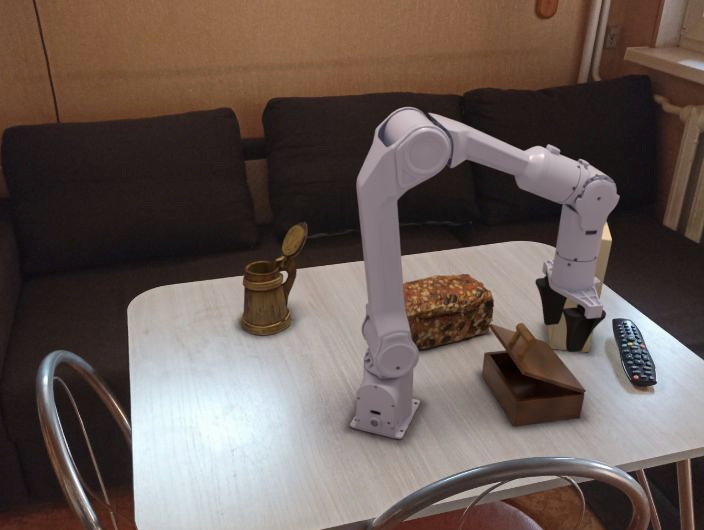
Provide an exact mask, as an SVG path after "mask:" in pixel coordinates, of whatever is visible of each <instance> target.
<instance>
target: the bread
mask: <svg viewBox="0 0 704 530" xmlns="http://www.w3.org/2000/svg"><path fill="white" fill-rule="evenodd" d="M403 290H404V304H405V311H406V315H407V319H408V323H409V327H410V333H411V339H412V341H413V342H414V344H415V345H416V347H417V349H418V350H424V349H425V350H427V349H429V348H434V347H437V346H438V347H439V346H442V345H447V344H451V343H455V342H459V341H460V342H461V341H462V340H464V339H468V338H470V337H475V336H476V335H484V334H485V333H487V332H488V331H489V330H490V327H489V326H490V324H492V321H493V317H494V314H493V313H494V308H495V307H494V306H495V303H494V302H495V301H494V297H493V293H492V291H491V290H489V289H488V288H486V287H485V286H484V283H483V282H482V281H479V280H477V279H476V278H474V277H473V276H472V275H470V274H469V273H468V274H467V273H462V274H457V275H455V274H452V275H445V274H444V275H434V276H428V277H424V278H419V279H415V280H412V281H411V280H410V281H405V282H403Z"/></svg>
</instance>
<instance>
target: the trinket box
mask: <svg viewBox="0 0 704 530" xmlns="http://www.w3.org/2000/svg"><path fill="white" fill-rule="evenodd" d="M482 361H483V362H482V371H481V376H482V378H483V379H484V380H485V382H486V384H487V385H488V387H489V388H490V390H491V392H492V393H493V395H494V397H495V399H496V400H497V402H498V403H499V405H500V407H501V408H502V410H503V411H504V413H505V415H506V416H507V418H508V420H509V421H510V422H511V425H512V426H513V427H517V426H526V425H533V424H540V423H548V422H555V421H563V420H572V419H579V418H581V414H582V411H583V404H584V400H585V393H580V392H577V391H574V390H571V389H567V388H564V387H561V386H558V385H555V384H551V383H548V382H545V381H542V380H538V379H535V378H532V377H529V376H526V375H523V374H522V372H521V371H520V370H519V368H518V367H517V365H516V364H515V363H514V361H513V360H512V358H511V357H510V355H509V354H508V353H507V351H506V350H505V349H504V350H497V351H496V350H495V351H487V352H484V353H483V360H482Z"/></svg>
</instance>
